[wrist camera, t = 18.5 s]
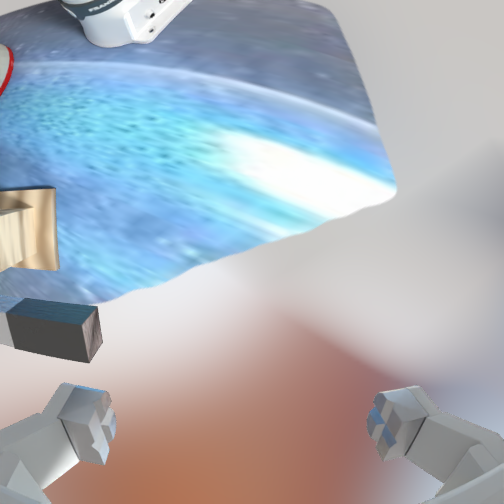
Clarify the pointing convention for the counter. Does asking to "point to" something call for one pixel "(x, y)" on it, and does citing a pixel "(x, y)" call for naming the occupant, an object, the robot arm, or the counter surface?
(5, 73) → the kitchen timer
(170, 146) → the counter surface
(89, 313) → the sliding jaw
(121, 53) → the counter surface
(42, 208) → the shelf
